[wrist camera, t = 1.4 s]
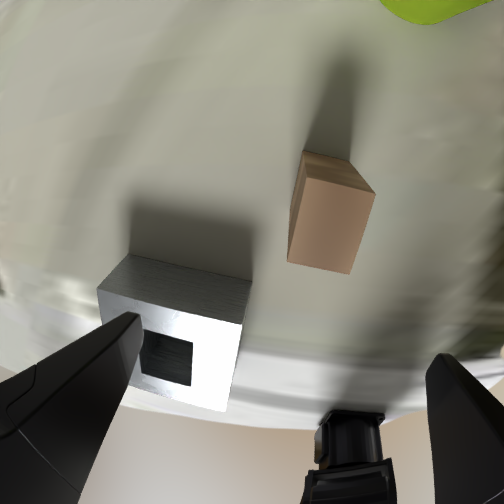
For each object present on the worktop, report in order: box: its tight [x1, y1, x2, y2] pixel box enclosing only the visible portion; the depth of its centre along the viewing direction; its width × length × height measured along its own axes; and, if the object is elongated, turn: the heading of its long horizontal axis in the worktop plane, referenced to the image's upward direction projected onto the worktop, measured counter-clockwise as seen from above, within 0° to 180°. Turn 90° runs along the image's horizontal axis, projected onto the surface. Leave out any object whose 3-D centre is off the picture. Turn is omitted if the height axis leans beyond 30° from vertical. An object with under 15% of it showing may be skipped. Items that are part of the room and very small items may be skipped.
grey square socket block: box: [97, 254, 252, 412], centre depth 24 cm, size 10×10×5 cm
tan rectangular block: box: [287, 151, 376, 275], centre depth 17 cm, size 3×4×7 cm
